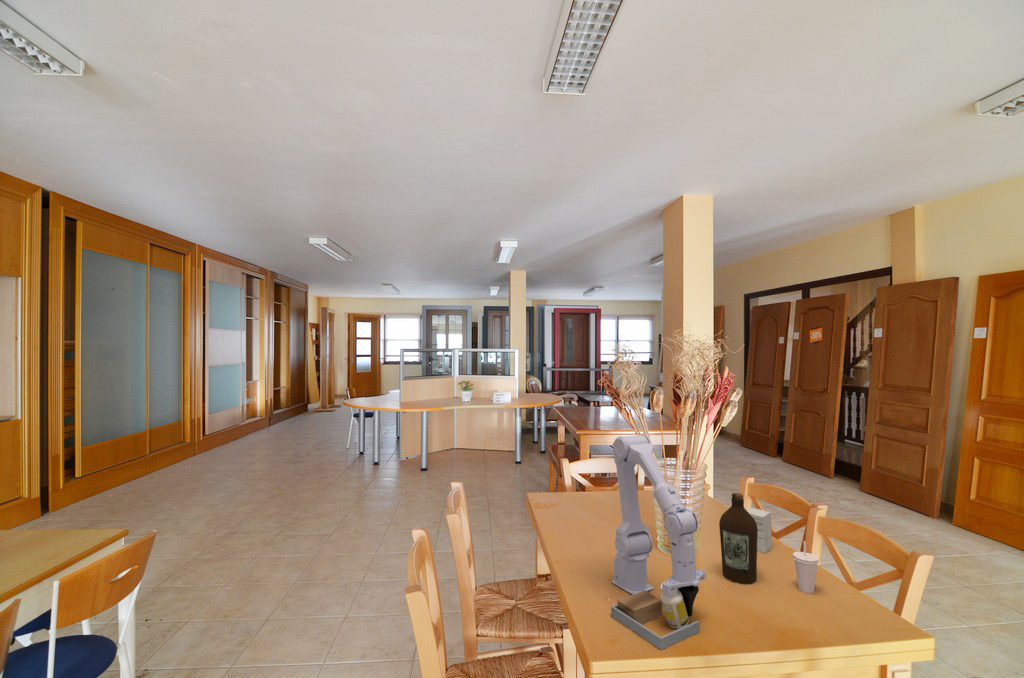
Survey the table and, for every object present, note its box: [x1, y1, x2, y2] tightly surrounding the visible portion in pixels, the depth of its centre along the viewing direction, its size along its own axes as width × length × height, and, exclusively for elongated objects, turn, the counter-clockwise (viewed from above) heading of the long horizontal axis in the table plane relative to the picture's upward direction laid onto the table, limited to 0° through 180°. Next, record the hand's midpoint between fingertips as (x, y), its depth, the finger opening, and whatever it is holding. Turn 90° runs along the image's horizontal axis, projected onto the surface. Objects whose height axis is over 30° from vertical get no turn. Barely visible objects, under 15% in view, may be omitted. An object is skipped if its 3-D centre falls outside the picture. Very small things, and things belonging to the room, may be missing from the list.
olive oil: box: [718, 492, 758, 585], centre depth 144 cm, size 11×11×25 cm
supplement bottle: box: [660, 580, 690, 630], centre depth 118 cm, size 5×5×10 cm
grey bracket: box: [610, 604, 700, 651], centre depth 118 cm, size 16×14×2 cm
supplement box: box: [746, 507, 773, 554], centre depth 165 cm, size 7×7×13 cm
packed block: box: [617, 590, 663, 625], centre depth 122 cm, size 6×10×4 cm, turn 121°
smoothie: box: [792, 540, 820, 594], centre depth 135 cm, size 6×6×14 cm
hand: (686, 614), depth 119 cm, fingers closed, pressing on supplement bottle
